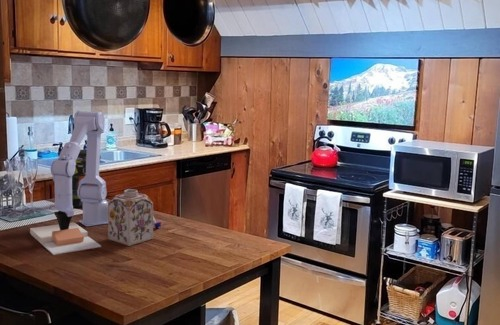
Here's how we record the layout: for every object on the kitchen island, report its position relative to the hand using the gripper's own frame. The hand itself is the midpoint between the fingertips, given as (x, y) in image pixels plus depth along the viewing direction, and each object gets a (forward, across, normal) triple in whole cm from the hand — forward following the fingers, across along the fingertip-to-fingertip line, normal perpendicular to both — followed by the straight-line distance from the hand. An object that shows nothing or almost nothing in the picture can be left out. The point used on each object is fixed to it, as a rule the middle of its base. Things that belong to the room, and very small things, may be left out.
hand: (64, 231), depth 184 cm
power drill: (+3, -44, +22) cm, 49 cm away
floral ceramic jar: (+3, +11, +20) cm, 23 cm away
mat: (+3, +7, 0) cm, 8 cm away
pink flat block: (+2, +3, 0) cm, 4 cm away
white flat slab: (+3, -6, 0) cm, 7 cm away
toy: (+3, -2, +32) cm, 33 cm away
